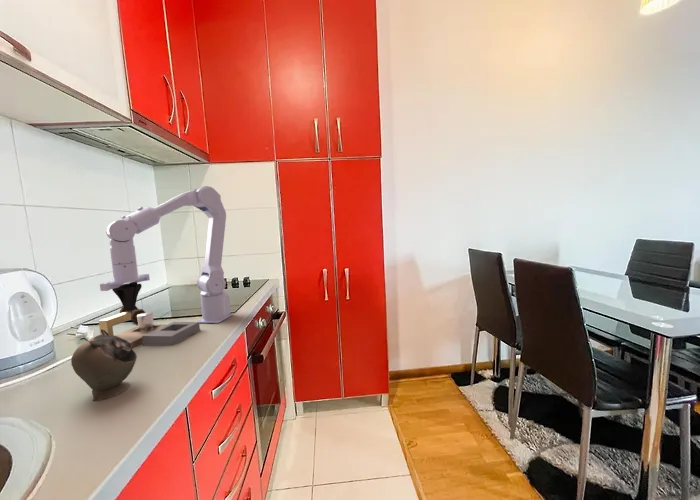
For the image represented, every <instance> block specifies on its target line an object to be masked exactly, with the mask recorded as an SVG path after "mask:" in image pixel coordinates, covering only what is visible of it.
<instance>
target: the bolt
mask: <svg viewBox="0 0 700 500" xmlns="http://www.w3.org/2000/svg"><path fill="white" fill-rule="evenodd" d="M123 312H131V319H130V320H131V321H132V322H133V323H134V324H138V323H137V322H138V320H137V315H139V314H142V313H147V312H146V311H145V310H144V309H143V308H138V307H137V306H136V305H135V309H134V310H132V311H125V309H124V307H123V305H122V306H121V308H120V311H119V314H120V313H123Z"/></svg>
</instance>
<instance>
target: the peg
mask: <svg viewBox="0 0 700 500" xmlns="http://www.w3.org/2000/svg"><path fill="white" fill-rule="evenodd" d="M137 320H138V323H137V326H138V329H139V332H148V331H150V330H153V329H154V325H155V323H154V316H153V312H151V311H150V312H146V313H142V314H139V315H137Z"/></svg>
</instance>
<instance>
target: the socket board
mask: <svg viewBox="0 0 700 500" xmlns="http://www.w3.org/2000/svg"><path fill="white" fill-rule="evenodd" d="M165 325H166V324H154V329H153V330H150V331H148V332H139V329H138V325H137V326H135V327H133V328H131V329H128V330H124V331H123V332H119V333H118V334H115V335H114V336H117V337H120V338H121V339H124V340H126V341H128V342H129V343H130V344H131V346H132V348H135V347H136V346H138V345H141V344H143V338H142V336H143V335H145V334H147V333H150V332H152V331H154V330H156V329H158V328H161V327H163V326H165Z"/></svg>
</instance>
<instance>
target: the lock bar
mask: <svg viewBox="0 0 700 500" xmlns="http://www.w3.org/2000/svg"><path fill="white" fill-rule="evenodd" d="M130 320H131V312H123V313H120V312H119V313H117V314H114V315H112V316H109V317H106V318H102V319H99V320H98V326H99V327H98V328H99V335H102V333H101V329H102V330H105V331H106V332H107V333H108V335H114V326H118V325H120V324H122V323H125V322H127V321H130Z"/></svg>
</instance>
